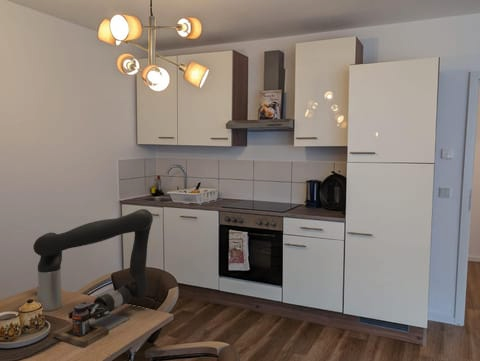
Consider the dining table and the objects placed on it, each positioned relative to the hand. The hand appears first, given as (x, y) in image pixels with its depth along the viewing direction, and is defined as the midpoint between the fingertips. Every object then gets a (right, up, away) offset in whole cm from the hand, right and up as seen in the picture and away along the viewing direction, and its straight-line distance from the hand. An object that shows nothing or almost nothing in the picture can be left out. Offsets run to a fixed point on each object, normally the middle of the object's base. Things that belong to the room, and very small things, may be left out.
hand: (75, 317), depth 151 cm
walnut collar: (+1, -8, +3) cm, 8 cm away
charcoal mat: (+8, -7, +15) cm, 18 cm away
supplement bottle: (+1, -8, +3) cm, 8 cm away
